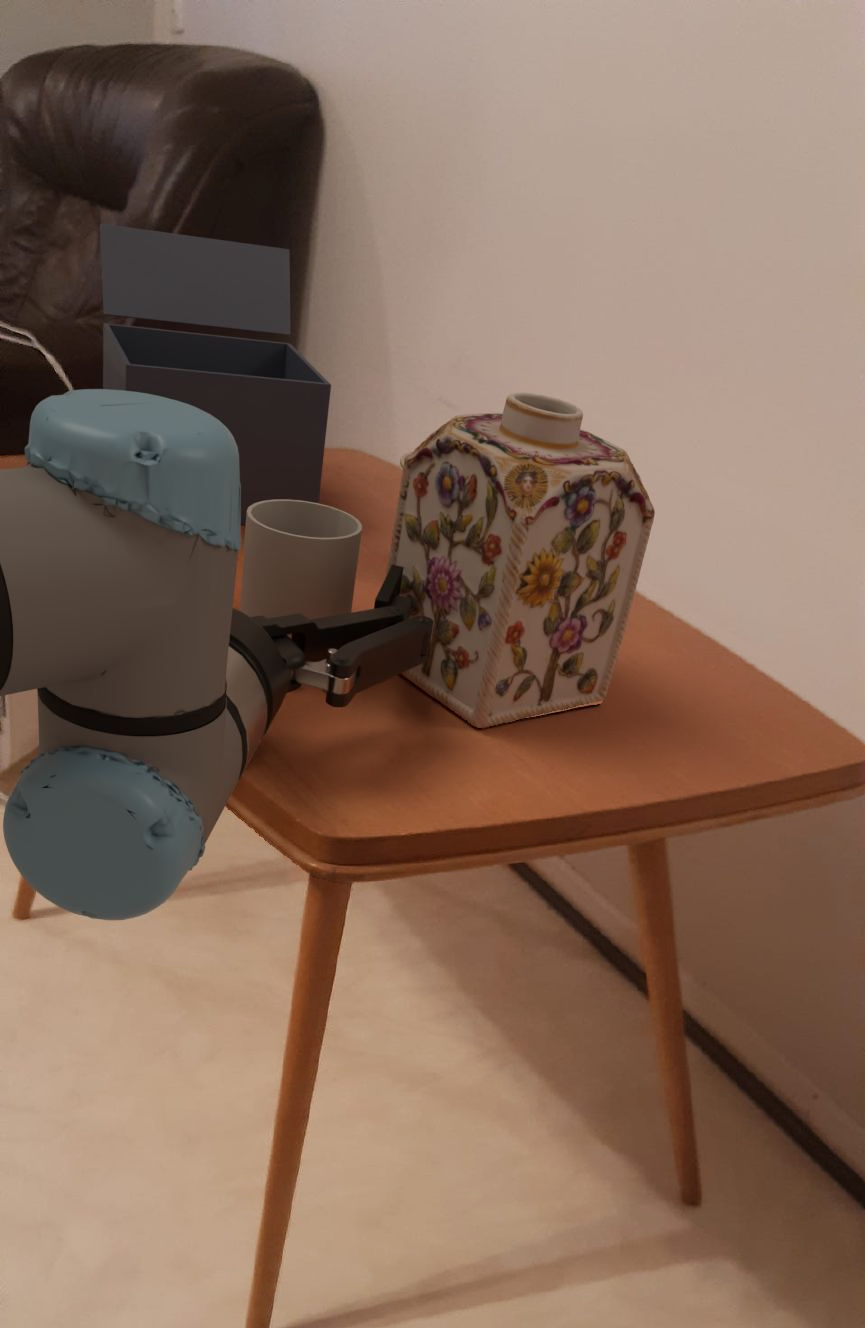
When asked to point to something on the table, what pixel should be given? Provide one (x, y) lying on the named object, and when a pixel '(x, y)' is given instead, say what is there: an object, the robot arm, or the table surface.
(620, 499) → the decorative jar
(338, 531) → the cup
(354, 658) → the robot arm
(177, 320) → the flap
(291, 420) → the carton
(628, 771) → the table surface
